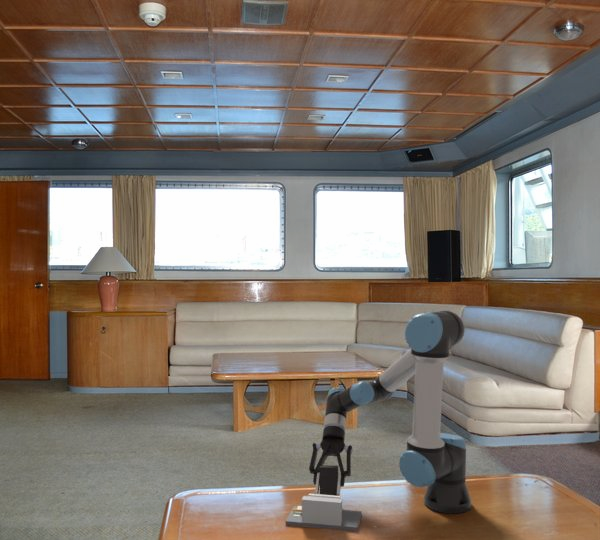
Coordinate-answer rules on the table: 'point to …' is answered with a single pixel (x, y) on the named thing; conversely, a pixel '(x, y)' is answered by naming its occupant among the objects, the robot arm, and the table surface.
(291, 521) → the base
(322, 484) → the door stopper
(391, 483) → the table surface
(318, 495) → the light gray flat plate
